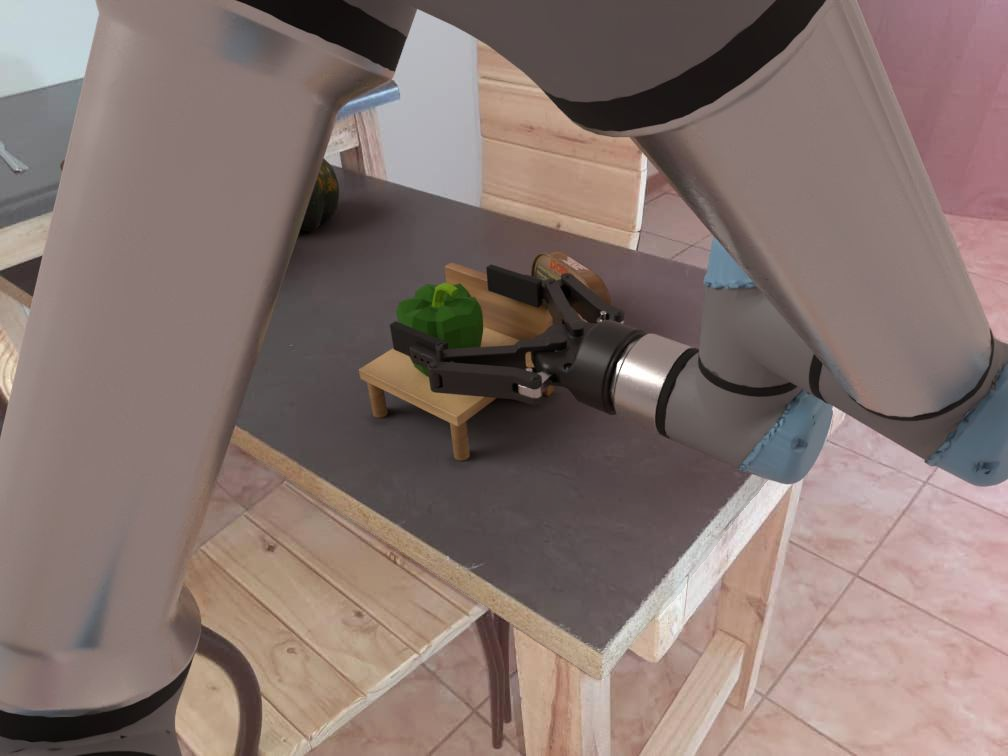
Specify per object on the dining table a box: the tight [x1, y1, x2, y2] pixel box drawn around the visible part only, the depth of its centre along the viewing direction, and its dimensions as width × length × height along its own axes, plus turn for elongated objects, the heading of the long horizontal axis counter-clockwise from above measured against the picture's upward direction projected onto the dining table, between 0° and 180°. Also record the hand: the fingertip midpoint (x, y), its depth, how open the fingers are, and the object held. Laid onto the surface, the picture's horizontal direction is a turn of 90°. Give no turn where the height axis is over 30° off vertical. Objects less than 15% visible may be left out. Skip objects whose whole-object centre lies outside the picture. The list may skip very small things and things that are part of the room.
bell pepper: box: [395, 282, 483, 377], centre depth 78 cm, size 8×8×10 cm
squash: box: [300, 157, 340, 232], centre depth 126 cm, size 14×15×15 cm
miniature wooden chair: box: [358, 262, 555, 462], centre depth 82 cm, size 15×14×12 cm
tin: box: [530, 250, 612, 323], centre depth 95 cm, size 15×3×8 cm, turn 28°
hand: (444, 304), depth 76 cm, fingers open, 13 cm apart
